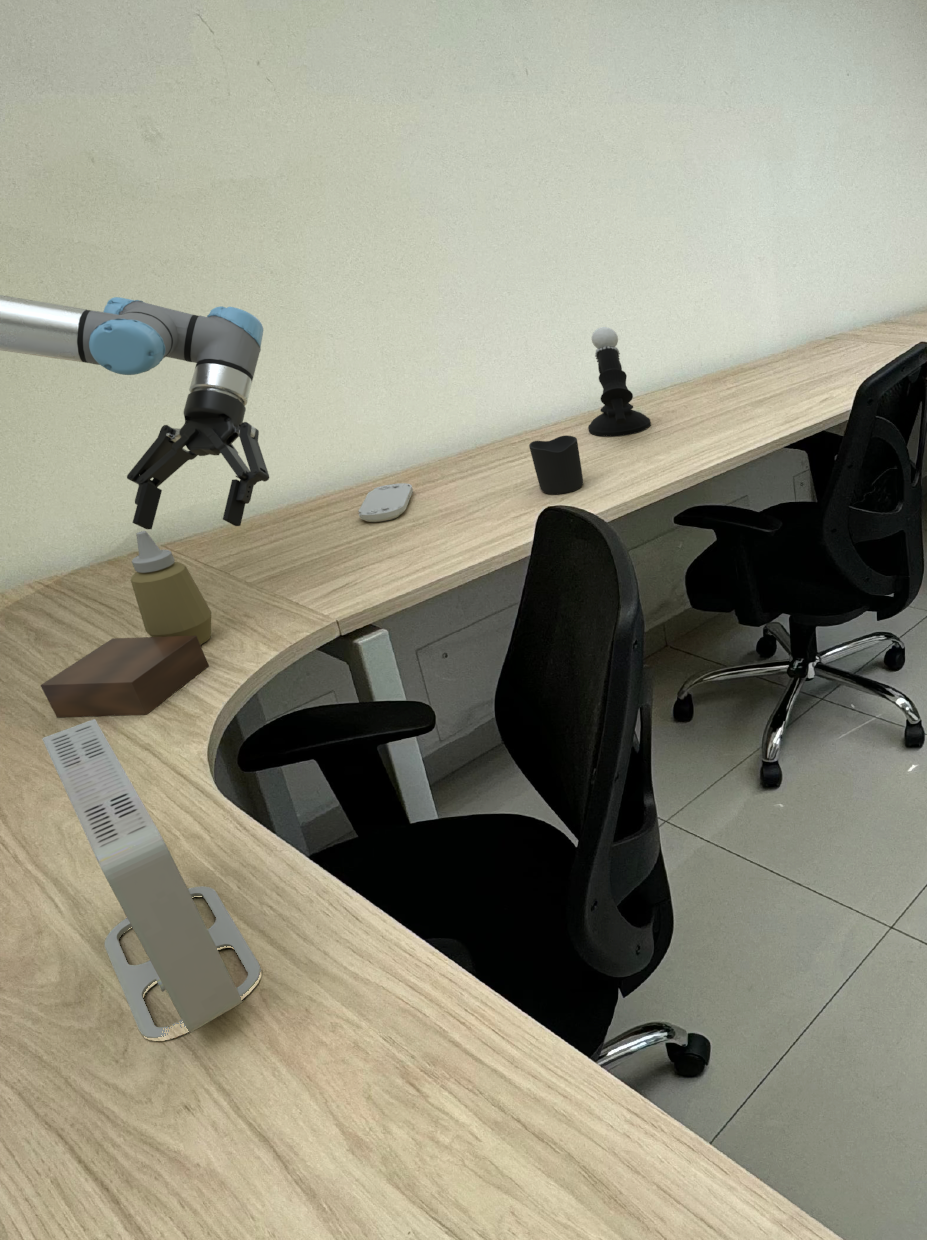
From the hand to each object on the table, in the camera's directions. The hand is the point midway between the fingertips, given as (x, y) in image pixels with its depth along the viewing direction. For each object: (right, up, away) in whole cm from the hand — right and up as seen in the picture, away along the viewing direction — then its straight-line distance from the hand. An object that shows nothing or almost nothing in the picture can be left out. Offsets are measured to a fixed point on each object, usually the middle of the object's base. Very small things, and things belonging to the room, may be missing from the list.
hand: (186, 524), depth 137 cm
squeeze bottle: (+1, -18, 0) cm, 18 cm away
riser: (+3, -23, -12) cm, 26 cm away
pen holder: (+37, +10, +55) cm, 67 cm away
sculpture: (+39, +27, +90) cm, 102 cm away
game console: (+4, +5, +49) cm, 49 cm away
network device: (+42, -42, -54) cm, 80 cm away
